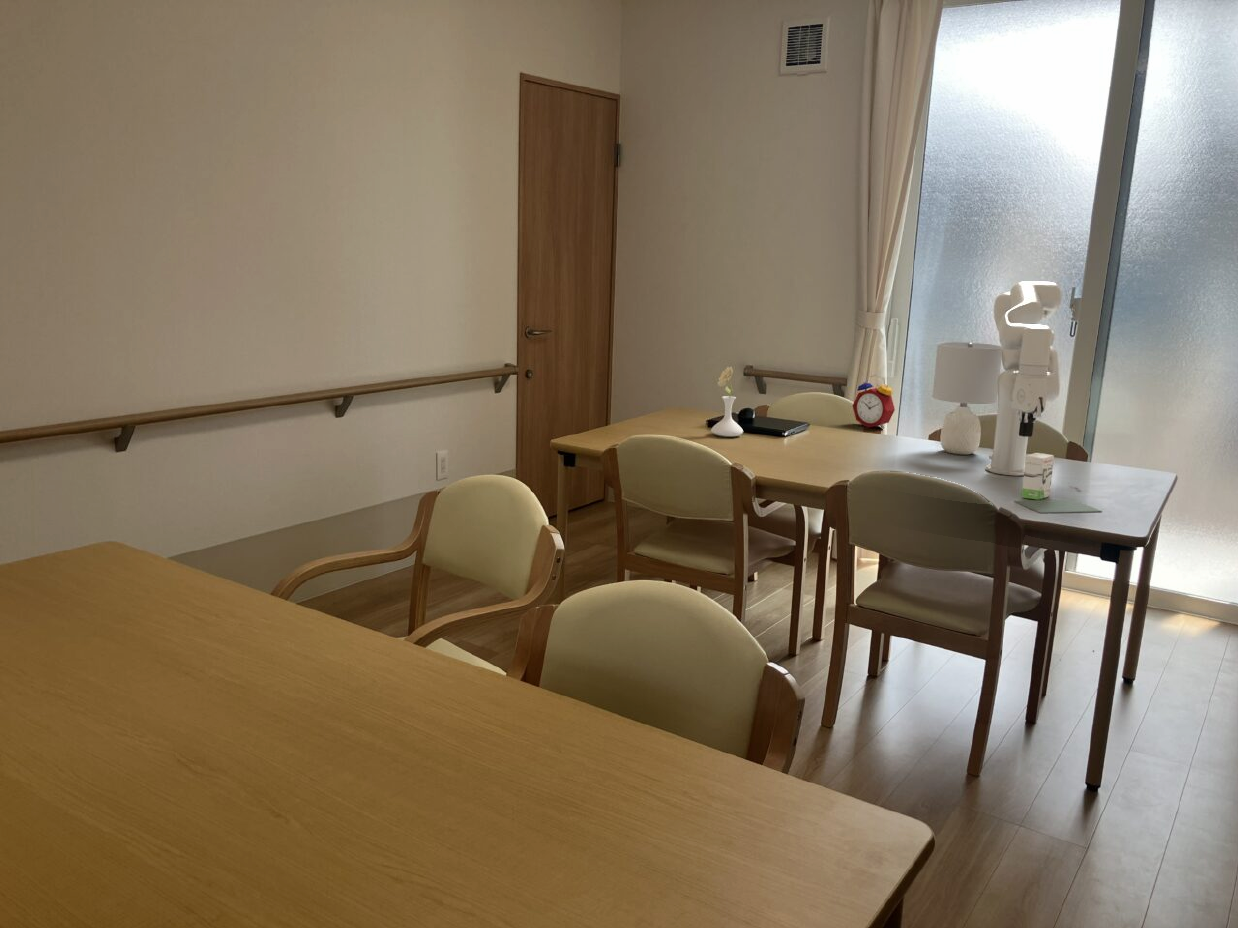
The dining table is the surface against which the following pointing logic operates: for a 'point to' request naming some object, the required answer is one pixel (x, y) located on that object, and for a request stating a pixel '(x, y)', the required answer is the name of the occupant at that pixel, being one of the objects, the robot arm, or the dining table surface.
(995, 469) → the robot arm
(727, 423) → the flower in vase
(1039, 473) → the ink box
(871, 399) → the alarm clock
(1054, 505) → the felt mat
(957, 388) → the lamp
